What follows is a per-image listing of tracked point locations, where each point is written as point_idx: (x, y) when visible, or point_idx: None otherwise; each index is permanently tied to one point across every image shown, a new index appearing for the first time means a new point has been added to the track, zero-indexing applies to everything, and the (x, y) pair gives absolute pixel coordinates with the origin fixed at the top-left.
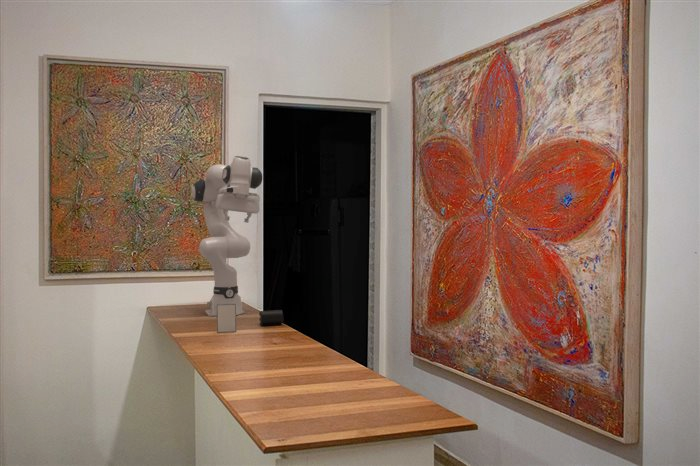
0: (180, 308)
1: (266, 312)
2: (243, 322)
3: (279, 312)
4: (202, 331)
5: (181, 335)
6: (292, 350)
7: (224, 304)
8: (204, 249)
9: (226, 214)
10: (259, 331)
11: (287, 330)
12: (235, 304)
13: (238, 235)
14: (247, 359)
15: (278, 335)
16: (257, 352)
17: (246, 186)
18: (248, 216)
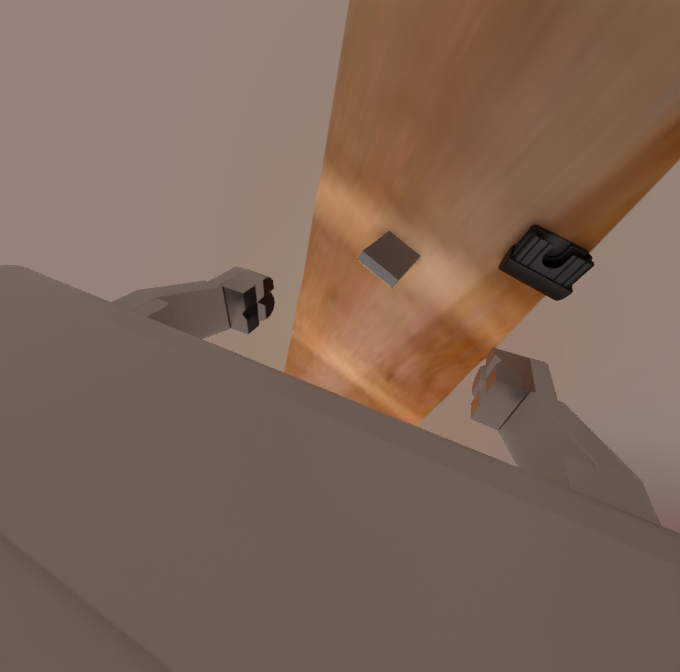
0: None
1: (516, 274)
2: (545, 142)
3: (550, 295)
4: (372, 198)
5: (324, 208)
6: (377, 409)
7: (371, 270)
8: None
9: (198, 334)
10: (448, 297)
11: (492, 336)
12: (392, 287)
13: None
14: None
15: (438, 350)
16: (345, 383)
17: None
18: (531, 460)
